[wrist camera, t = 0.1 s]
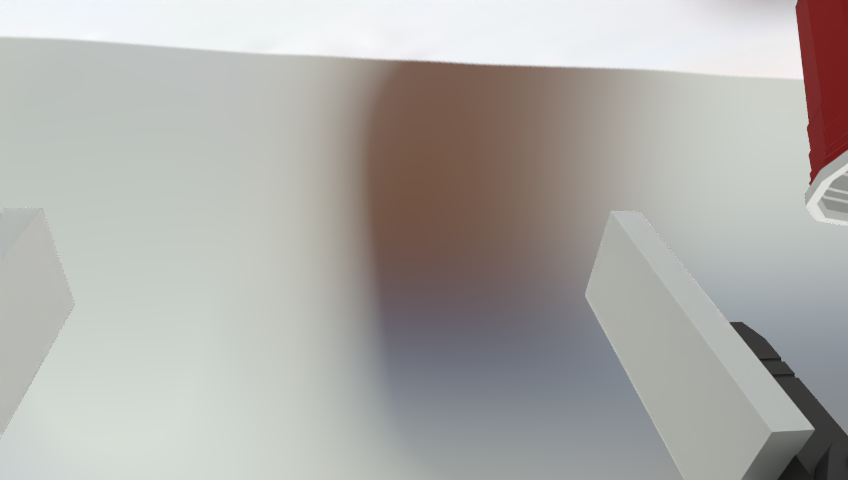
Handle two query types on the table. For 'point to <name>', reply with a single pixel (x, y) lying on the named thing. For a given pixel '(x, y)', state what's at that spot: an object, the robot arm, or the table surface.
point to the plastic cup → (826, 105)
